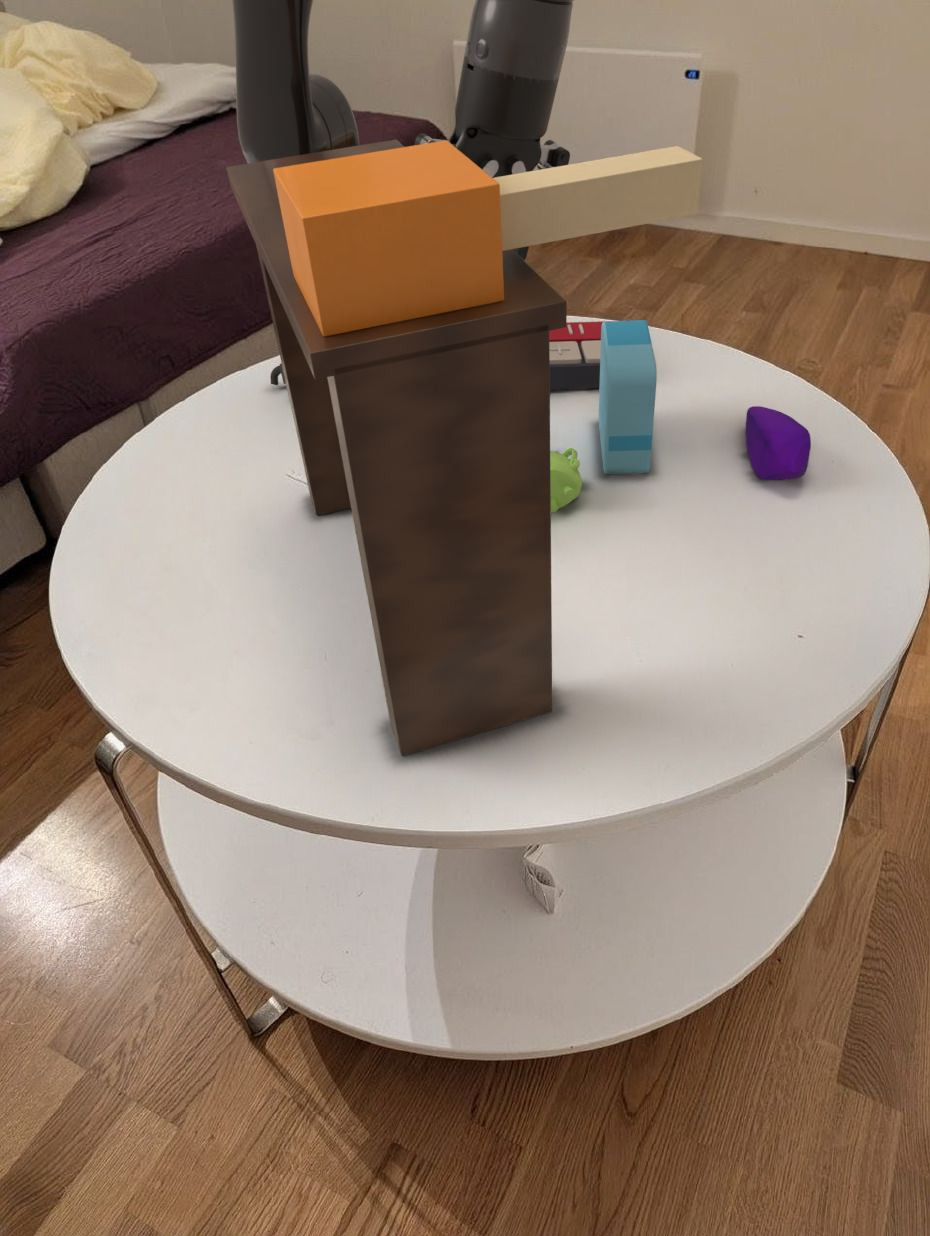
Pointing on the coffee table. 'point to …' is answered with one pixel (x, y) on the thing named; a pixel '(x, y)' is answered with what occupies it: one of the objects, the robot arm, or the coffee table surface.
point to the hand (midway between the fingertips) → (471, 267)
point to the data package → (626, 396)
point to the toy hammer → (452, 224)
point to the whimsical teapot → (564, 478)
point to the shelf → (431, 478)
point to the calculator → (575, 355)
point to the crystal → (776, 444)
